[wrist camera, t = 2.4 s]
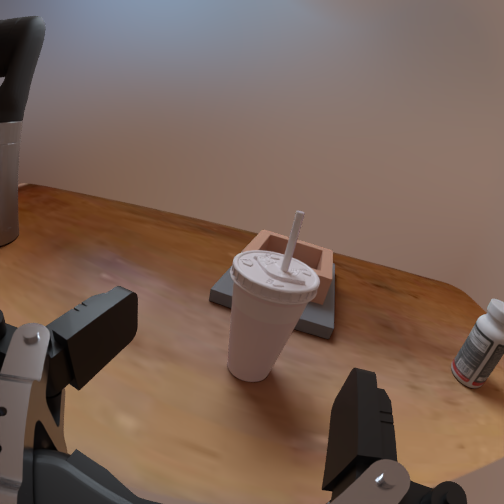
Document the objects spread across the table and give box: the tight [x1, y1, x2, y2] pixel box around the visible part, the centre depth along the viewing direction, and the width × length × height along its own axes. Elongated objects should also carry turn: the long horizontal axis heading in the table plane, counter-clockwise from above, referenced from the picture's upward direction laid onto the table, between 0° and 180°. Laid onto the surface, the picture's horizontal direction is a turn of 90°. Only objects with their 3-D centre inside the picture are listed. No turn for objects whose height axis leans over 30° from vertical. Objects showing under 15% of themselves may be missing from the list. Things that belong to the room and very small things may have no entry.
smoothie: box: [227, 211, 320, 382], centre depth 22 cm, size 6×6×14 cm
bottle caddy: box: [209, 229, 335, 339], centre depth 40 cm, size 14×20×5 cm
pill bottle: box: [451, 299, 504, 388], centre depth 25 cm, size 6×6×10 cm
